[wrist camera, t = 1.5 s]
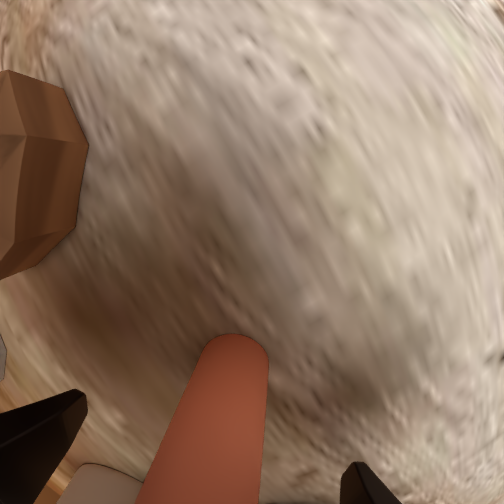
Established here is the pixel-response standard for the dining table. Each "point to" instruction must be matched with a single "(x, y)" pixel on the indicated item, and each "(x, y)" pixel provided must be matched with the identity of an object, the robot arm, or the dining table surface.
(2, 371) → the slate bead
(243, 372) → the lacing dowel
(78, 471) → the mug
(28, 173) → the walnut bead
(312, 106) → the dining table surface
